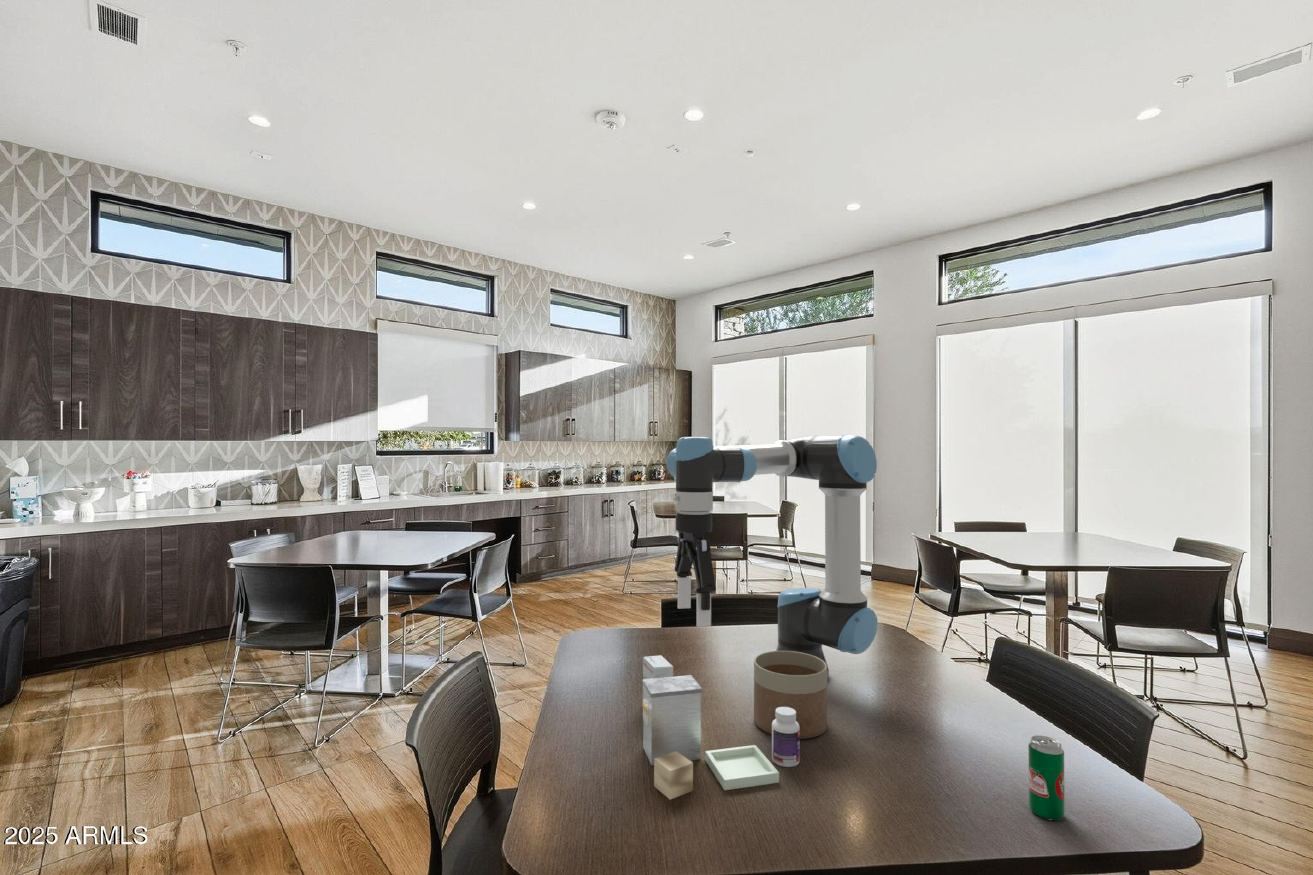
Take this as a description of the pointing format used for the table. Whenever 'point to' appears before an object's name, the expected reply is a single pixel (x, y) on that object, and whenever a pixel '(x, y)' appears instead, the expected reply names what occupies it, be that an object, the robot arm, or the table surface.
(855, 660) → the table surface
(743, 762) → the tray
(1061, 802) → the soda can
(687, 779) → the maple block
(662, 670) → the ink box
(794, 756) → the pill bottle
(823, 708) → the planter
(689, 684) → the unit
